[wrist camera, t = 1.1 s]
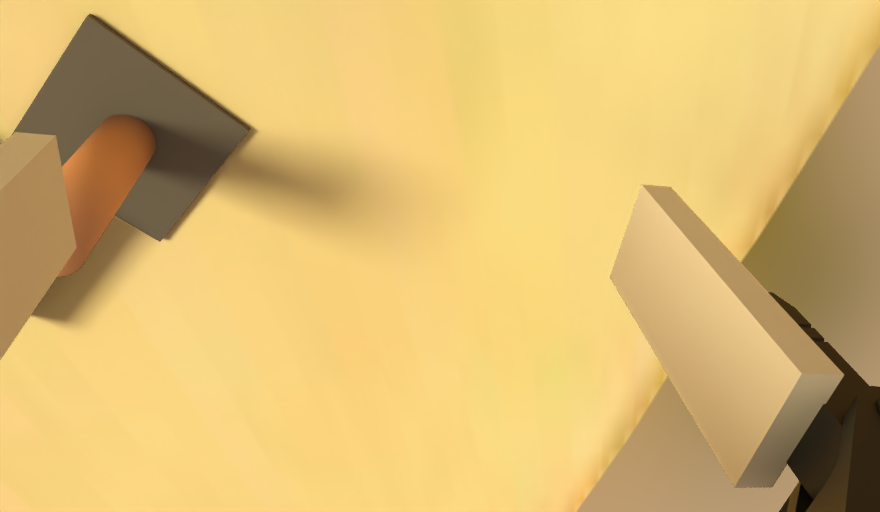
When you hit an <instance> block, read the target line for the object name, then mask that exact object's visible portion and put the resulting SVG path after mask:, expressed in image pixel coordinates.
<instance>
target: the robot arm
mask: <svg viewBox="0 0 880 512" xmlns="http://www.w3.org/2000/svg"><path fill="white" fill-rule="evenodd" d="M76 248H77V247H76V241H75V236H74V230H73V225H72V220H71V214H70V209H69V203H68V198H67V193H66V187H65V182H64V176H63V171H62V166H61V160H60V155H59V149H58V144H57V139H56V135H44V134H33V133H21V132H15V133H14V134H13V135H11V136H10V137H9V138H8V139H7V140H6V141H5V142H3V143H2V144H1V145H0V360H1V358H2V357H3V355H4V354H5V353H6V351H7V350H8V348H9V347H10V345H11V344H12V342H13V341H14V339H15V338H16V336H17V335H18V333H19V332H20V330H21V329H22V327H23V326H24V325H25V323H26V322H27V320H28V319H29V317H30V316H31V314H32V313H33V311H34V310H35V308H36V307H37V305H38V304H39V302H40V301H41V299H42V298H43V297H44V295H45V294H46V292H47V291H48V289H49V288H50V286H51V285H52V283H53V282H54V280H55V279H56V277H57V276H58V274H59V273H60V271H61V270H62V269H63V267H64V266H65V264H66V263H67V261H68V260H69V258H70V257H71V255H72V254H73V252H74V251H75V249H76ZM610 279H611V280H612V282H613V284H614V286H615V287H616V289H617V291H618V292H619V294H620V296H621V297H622V299H623V301H624V302H625V304H626V306H627V307H628V309H629V311H630V313H631V314H632V316H633V318H634V319H635V321H636V323H637V324H638V326H639V328H640V329H641V331H642V333H643V334H644V336H645V338H646V340H647V341H648V343H649V345H650V346H651V348H652V350H653V351H654V353H655V355H656V356H657V358H658V360H659V361H660V363H661V365H662V367H663V368H664V370H665V372H666V373H667V375H668V377H669V378H670V380H671V382H672V383H673V385H674V387H675V388H676V390H677V392H678V393H679V395H680V397H681V399H682V400H683V402H684V404H685V405H686V407H687V409H688V410H689V412H690V414H691V415H692V417H693V419H694V421H695V422H696V424H697V426H698V427H699V429H700V431H701V432H702V434H703V436H704V437H705V439H706V441H707V442H708V444H709V446H710V448H711V449H712V451H713V452H714V454H715V456H716V458H717V459H718V461H719V463H720V464H721V466H722V468H723V469H724V471H725V473H726V474H727V476H728V478H729V480H730V481H731V483H732V484H733V486H734V487H736V488H737V487H740V488H742V487H743V488H746V487H773V485H774V484H775V482H776V480H777V479H778V478H779V476H780V475H781V472H782V471H783V470H784V468H785V467H786V465H787V464H788V465H789V467H790V468H791V470H792V471H793V473H794V474H795V475H796V477H797V478H798V480H799V483H798V484H797V486H796V487H795V489H794V490H793V492H792V493H791V495H790V496H789V498H788V499H787V501H786V502H785V503H784V505H783V507H782V508H781V510H780V511H779V512H880V387H876V386H869V385H868V384H867V383H866V382H865V381H864V380H863V379H862V378H861V377H860V376H859V375H858V374H857V372H856V371H854V369H853V368H852V367H851V366H850V365H849V364H848V363H847V362H846V361H845V360H844V359H843V358H842V357H841V356H840V355H839V354H838V353H837V351H836V350H835V349H834V348H833V347H832V346H831V345H830V344H829V343H828V342H824V338H823V337H822V336H821V335H820V334H819V333H818V332H817V331H816V329H815V328H811V324H810V323H809V322H808V321H807V320H806V319H805V318H804V317H803V316H802V315H801V314H800V313H799V312H798V310H797V309H796V308H794V307H793V306H791V305H790V304H789V303H787V302H785V301H784V300H782V299H781V298H779V297H778V296H777V295H775V294H774V293H771V292H767V291H766V290H765V289H764V287H763V286H761V284H760V283H759V282H758V281H757V280H756V279H755V278H754V277H753V276H752V274H751V273H750V272H749V271H748V270H747V269H746V268H745V267H744V266H743V265H742V264H741V263H740V262H739V260H738V259H737V258H736V257H735V256H734V255H733V254H732V253H731V252H730V251H729V250H728V249H727V247H726V246H725V245H724V244H723V243H722V242H721V241H720V240H719V239H718V238H717V237H716V236H715V234H714V233H713V232H712V231H711V230H710V229H709V228H708V227H707V226H706V225H705V224H704V223H703V221H702V220H701V219H700V218H699V217H698V216H697V215H696V214H695V213H694V212H693V211H692V210H691V209H690V207H689V206H688V205H687V204H686V203H685V202H684V201H683V200H682V199H681V198H680V197H679V196H678V194H677V193H676V192H675V191H674V190H673V189H672V188H671V187H665V186H653V185H641V188H640V191H639V194H638V197H637V200H636V202H635V205H634V208H633V211H632V214H631V217H630V220H629V223H628V226H627V229H626V232H625V234H624V237H623V240H622V243H621V246H620V249H619V252H618V255H617V258H616V261H615V264H614V266H613V269H612V272H611V275H610Z"/></svg>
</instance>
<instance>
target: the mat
mask: <svg viewBox="0 0 880 512" xmlns="http://www.w3.org/2000/svg"><path fill="white" fill-rule="evenodd" d="M118 114H125V115H130V116H133V117H136V118H138V119H140V120H141V121H143V122H144V123H145V124H146V125H147V126H148V127H149V128H150V129H151V131H152V132H153V134H154V136H155V140H156V150H155V153H154V155H153V156H152V158H151V159H150V161H149V162H148V164H147V166H146V167H145V169H144V170H143V172H142V173H141V175H140V176H139V178H138V179H137V181H136V183H135V184H134V186H133V187H132V189H131V190H130V192H129V193H128V195H127V197H126V198H125V200H124V201H123V203H122V204H121V206H120V207H119V209H118V210H117V212H116V214H115V216H117V217H119V218H120V219H122V220H124V221H125V222H127V223H129V224H131V225H132V226H134V227H136V228H137V229H139V230H141V231H142V232H144V233H146V234H148V235H149V236H151V237H153V238H154V239H156V240H158V241H161V240H162V239H163V238H164V236H165V235H166V234H167V233H168V231H169V230H170V229H171V228H172V226H173V225H174V224H175V223H176V221H177V220H178V219H179V218H180V216H181V215H182V214H183V213H184V211H185V210H186V209H187V208H188V206H189V205H190V204H191V203H192V201H193V200H194V199H195V198H196V196H197V195H198V194H199V193H200V191H201V190H202V189H203V188H204V186H205V185H206V184H207V183H208V181H209V180H210V179H211V178H212V176H213V175H214V174H215V173H216V171H217V170H218V169H219V168H220V166H221V165H222V164H223V163H224V161H225V160H226V159H227V158H228V156H229V155H230V154H231V153H232V151H233V150H234V149H235V148H236V146H237V145H238V144H239V143H240V141H241V140H242V139H243V138H244V136H245V135H246V134H247V133H248V131H249V128H248V127H247V126H245V125H244V124H242V123H241V122H240V121H238V120H237V119H235V118H234V117H233V116H231V115H230V114H228V113H227V112H226V111H224V110H223V109H221V108H220V107H219V106H217V105H216V104H215V103H213V102H212V101H210V100H209V99H208V98H206V97H205V96H203V95H202V94H201V93H199V92H198V91H196V90H195V89H194V88H192V87H191V86H189V85H188V84H187V83H185V82H184V81H183V80H181V79H180V78H178V77H177V76H176V75H174V74H173V73H171V72H170V71H169V70H167V69H166V68H164V67H163V66H162V65H160V64H159V63H157V62H156V61H155V60H153V59H152V58H151V57H149V56H148V55H146V54H145V53H144V52H142V51H141V50H139V49H138V48H137V47H135V46H134V45H132V44H131V43H130V42H128V41H127V40H125V39H124V38H123V37H121V36H120V35H119V34H117V33H116V32H114V31H113V30H112V29H110V28H109V27H107V26H106V25H105V24H103V23H102V22H100V21H99V20H98V19H96V18H95V17H93V16H92V15H91V14H89V15H88V16H87V17H86V19H85V20H84V22H83V23H82V25H81V27H80V28H79V30H78V31H77V33H76V34H75V36H74V38H73V39H72V41H71V42H70V44H69V45H68V47H67V49H66V50H65V52H64V53H63V55H62V57H61V58H60V60H59V61H58V63H57V64H56V66H55V68H54V69H53V71H52V72H51V74H50V76H49V77H48V79H47V80H46V82H45V83H44V85H43V87H42V88H41V90H40V91H39V93H38V94H37V96H36V98H35V99H34V101H33V102H32V104H31V106H30V107H29V109H28V110H27V112H26V113H25V115H24V117H23V118H22V120H21V121H20V123H19V124H18V126H17V128H16V129H15V131H14V132H13V134H14V133H15V132H21V133H33V134H44V135H56V139H57V144H58V149H59V155H60V160H61V166H63V165H64V164H65V163H66V162H67V161H68V160H69V159H70V158H71V156H72V155H73V154H74V153H75V152H76V151H77V150H78V149H79V148H80V146H81V145H82V144H83V143H84V142H85V141H86V140H87V139H88V138H89V137H90V135H91V134H92V133H93V132H94V131H95V130H96V129H97V128H98V127H99V126H100V124H101V123H102V122H103V121H104V120H105V119H107V118H108V117H110V116H113V115H118ZM13 134H12V135H13Z"/></svg>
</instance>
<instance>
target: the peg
mask: <svg viewBox="0 0 880 512" xmlns="http://www.w3.org/2000/svg"><path fill="white" fill-rule="evenodd" d="M155 150H156V140H155V136H154V134H153V132H152V131H151V129H150V128H149V127H148V126H147V125H146V124H145V123H144V122H143V121H141V120H140V119H138V118H136V117H133V116H130V115H125V114H118V115H113V116H110V117H108V118H107V119H105V120H104V121H103V122H102V123H101V124H100V126H99V127H98V128H97V129H96V130H95V131H94V132H93V133H92V134H91V135H90V137H89V138H88V139H87V140H86V141H85V142H84V143H83V144H82V145H81V146H80V148H79V149H78V150H77V151H76V152H75V153H74V154H73V155H72V156H71V158H70V159H69V160H68V161H67V162H66V163H65V164H64V165H63V166H62V171H63V176H64V182H65V187H66V193H67V198H68V203H69V209H70V214H71V220H72V225H73V230H74V236H75V241H76V247H77V248H76V249H75V251H74V252H73V254H72V255H71V257H70V258H69V260H68V261H67V263H66V264H65V266H64V267H63V269H62V270H61V271H60V273H59V274H58V276H57V277H63V276H67V275H70V274H72V273H74V272H76V271H77V270H78V269H79V268H80V267H81V266H82V265H83V263H84V262H85V260H86V258H87V257H88V255H89V254H90V252H91V251H92V249H93V248H94V246H95V245H96V243H97V241H98V240H99V238H100V237H101V235H102V234H103V232H104V231H105V229H106V228H107V226H108V224H109V223H110V221H111V220H112V218H113V217H114V215H115V214H116V212H117V210H118V209H119V207H120V206H121V204H122V203H123V201H124V200H125V198H126V197H127V195H128V193H129V192H130V190H131V189H132V187H133V186H134V184H135V183H136V181H137V179H138V178H139V176H140V175H141V173H142V172H143V170H144V169H145V167H146V166H147V164H148V162H149V161H150V159H151V158H152V156H153V155H154V153H155Z"/></svg>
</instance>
